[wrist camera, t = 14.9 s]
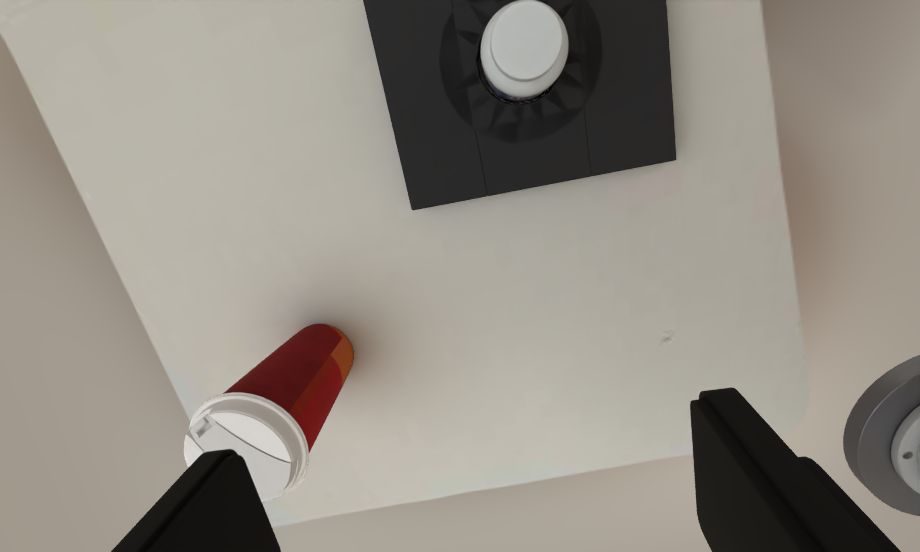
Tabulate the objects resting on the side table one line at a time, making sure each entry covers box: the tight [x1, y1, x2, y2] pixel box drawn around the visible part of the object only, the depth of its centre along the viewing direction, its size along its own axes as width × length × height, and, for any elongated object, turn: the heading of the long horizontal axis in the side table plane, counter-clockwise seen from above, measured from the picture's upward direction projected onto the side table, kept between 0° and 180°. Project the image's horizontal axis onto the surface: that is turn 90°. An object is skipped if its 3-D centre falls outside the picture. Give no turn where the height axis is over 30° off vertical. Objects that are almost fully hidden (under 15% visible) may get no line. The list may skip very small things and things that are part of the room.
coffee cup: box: [184, 324, 354, 503], centre depth 36 cm, size 8×8×15 cm
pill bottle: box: [480, 0, 568, 102], centre depth 30 cm, size 5×5×10 cm
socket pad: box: [363, 0, 676, 210], centre depth 34 cm, size 20×16×2 cm
